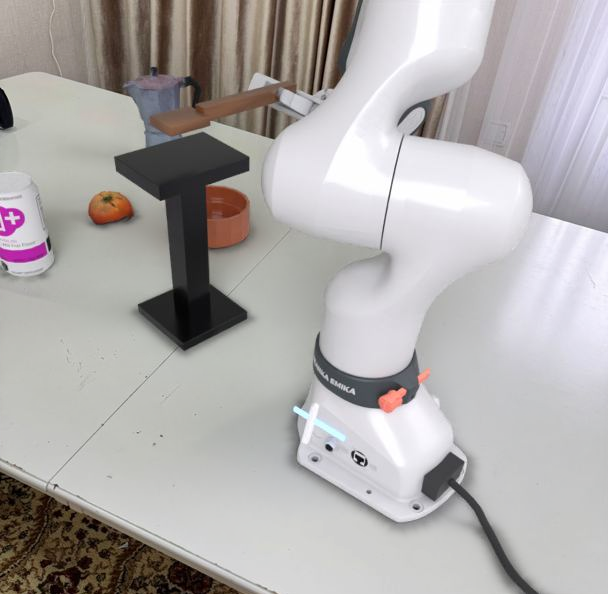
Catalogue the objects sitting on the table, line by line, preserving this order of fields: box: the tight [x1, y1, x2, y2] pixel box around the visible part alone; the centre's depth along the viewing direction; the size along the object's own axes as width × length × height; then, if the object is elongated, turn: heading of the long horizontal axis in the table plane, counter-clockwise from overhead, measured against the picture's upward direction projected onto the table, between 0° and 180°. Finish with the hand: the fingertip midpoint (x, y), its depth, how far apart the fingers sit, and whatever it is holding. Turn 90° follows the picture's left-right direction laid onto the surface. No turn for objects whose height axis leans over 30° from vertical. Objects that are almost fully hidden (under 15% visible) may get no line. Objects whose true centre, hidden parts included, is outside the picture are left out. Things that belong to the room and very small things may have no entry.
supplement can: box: [0, 171, 55, 278], centre depth 99 cm, size 8×8×15 cm
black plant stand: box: [113, 131, 251, 352], centre depth 88 cm, size 12×14×26 cm
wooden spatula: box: [149, 80, 298, 137], centre depth 81 cm, size 4×22×2 cm, turn 134°
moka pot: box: [122, 66, 202, 148], centre depth 130 cm, size 10×15×20 cm, turn 107°
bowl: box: [206, 184, 251, 249], centre depth 114 cm, size 13×13×6 cm
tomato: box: [87, 190, 135, 226], centre depth 117 cm, size 8×7×7 cm
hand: (272, 90), depth 85 cm, fingers closed on wooden spatula, 2 cm apart
